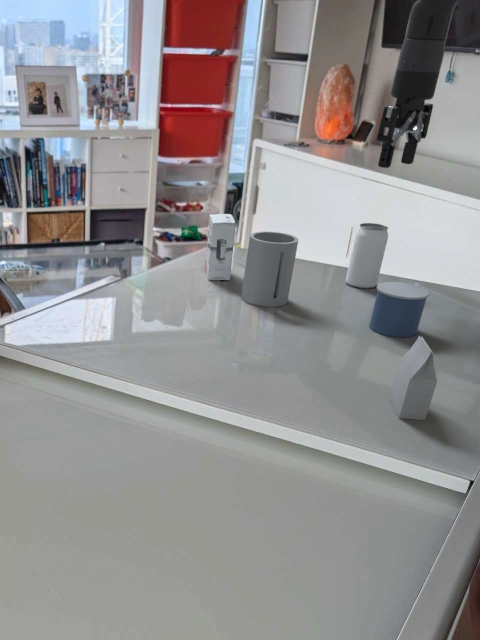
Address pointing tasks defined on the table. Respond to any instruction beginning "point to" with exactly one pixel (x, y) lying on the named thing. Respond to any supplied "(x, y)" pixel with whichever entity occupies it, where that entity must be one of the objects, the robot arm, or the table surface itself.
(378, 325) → the yogurt tub
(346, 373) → the table surface
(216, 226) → the ink box
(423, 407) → the grey milk carton
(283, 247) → the cup
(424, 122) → the robot arm
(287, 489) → the table surface
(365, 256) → the can
